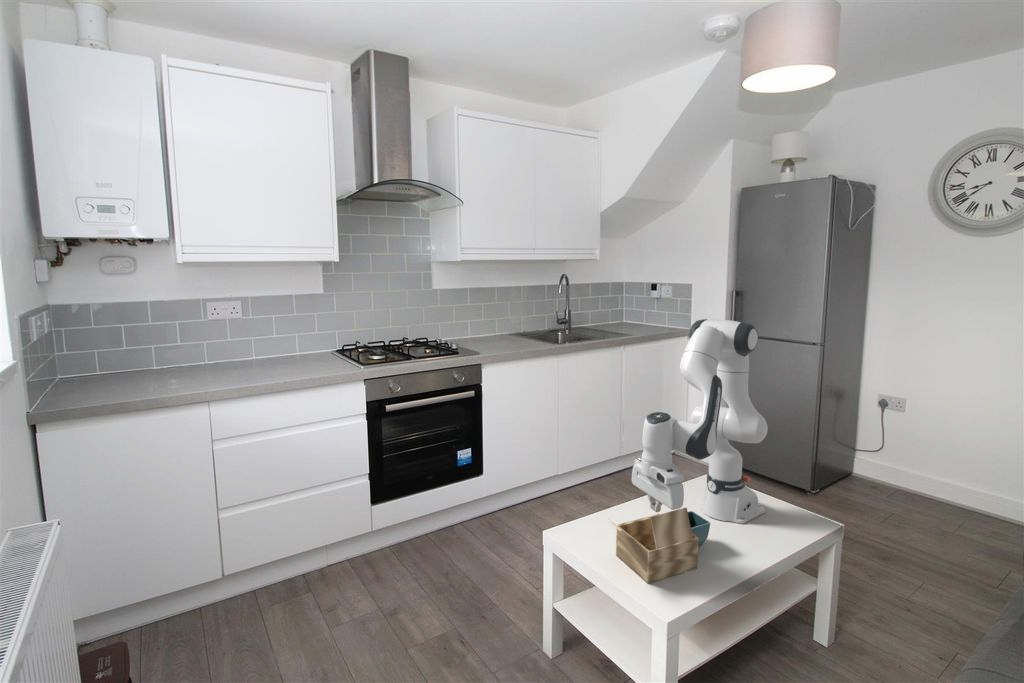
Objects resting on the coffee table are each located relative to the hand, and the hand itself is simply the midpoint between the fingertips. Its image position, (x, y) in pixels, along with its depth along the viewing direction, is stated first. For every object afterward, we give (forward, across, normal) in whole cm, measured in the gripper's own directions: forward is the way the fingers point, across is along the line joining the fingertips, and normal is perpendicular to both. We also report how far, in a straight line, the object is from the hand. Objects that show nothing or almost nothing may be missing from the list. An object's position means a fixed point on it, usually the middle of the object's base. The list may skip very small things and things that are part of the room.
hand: (655, 509), depth 162 cm
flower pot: (+17, -2, +16) cm, 23 cm away
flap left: (+2, +7, 0) cm, 8 cm away
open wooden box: (+17, +1, 0) cm, 17 cm away
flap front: (+3, +1, -12) cm, 13 cm away
